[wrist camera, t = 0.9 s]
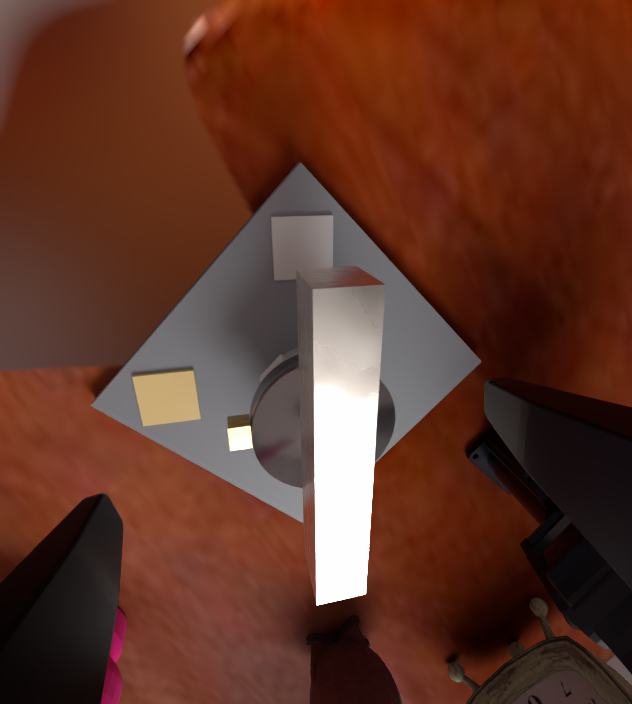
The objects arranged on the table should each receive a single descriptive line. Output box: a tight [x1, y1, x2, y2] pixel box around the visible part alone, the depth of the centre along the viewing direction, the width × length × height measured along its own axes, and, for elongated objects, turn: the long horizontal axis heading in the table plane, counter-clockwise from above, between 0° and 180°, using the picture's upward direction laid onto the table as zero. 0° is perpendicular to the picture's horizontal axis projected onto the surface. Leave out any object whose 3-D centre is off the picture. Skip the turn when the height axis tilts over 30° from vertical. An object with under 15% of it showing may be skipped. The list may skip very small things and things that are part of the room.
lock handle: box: [227, 266, 395, 605], centre depth 17 cm, size 15×8×5 cm, turn 0°
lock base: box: [91, 162, 482, 523], centre depth 21 cm, size 16×16×4 cm
